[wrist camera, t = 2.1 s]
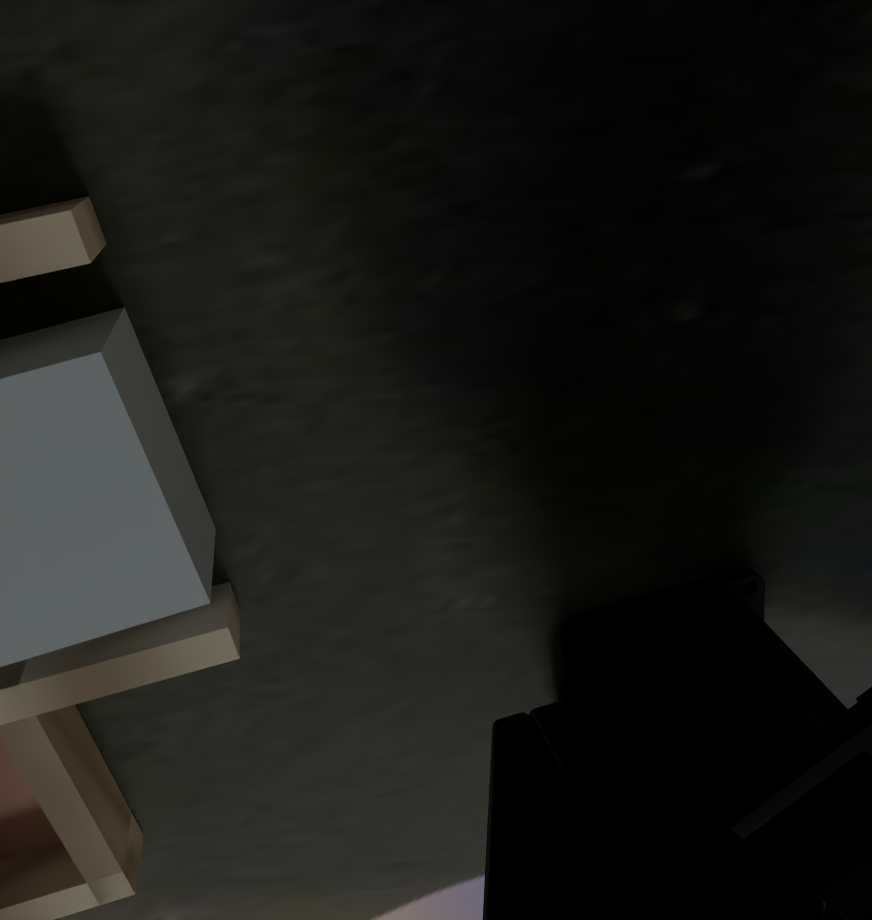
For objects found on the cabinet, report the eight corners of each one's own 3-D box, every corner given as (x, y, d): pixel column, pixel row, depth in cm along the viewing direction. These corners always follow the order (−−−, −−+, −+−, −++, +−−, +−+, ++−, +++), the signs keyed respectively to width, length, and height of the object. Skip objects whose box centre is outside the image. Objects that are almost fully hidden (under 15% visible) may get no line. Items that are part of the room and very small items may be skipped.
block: (125, 304, 18) (100, 351, 15) (215, 524, 21) (210, 603, 18) (-149, 376, 17) (-234, 442, 14) (-18, 593, 20) (-66, 686, 17)
